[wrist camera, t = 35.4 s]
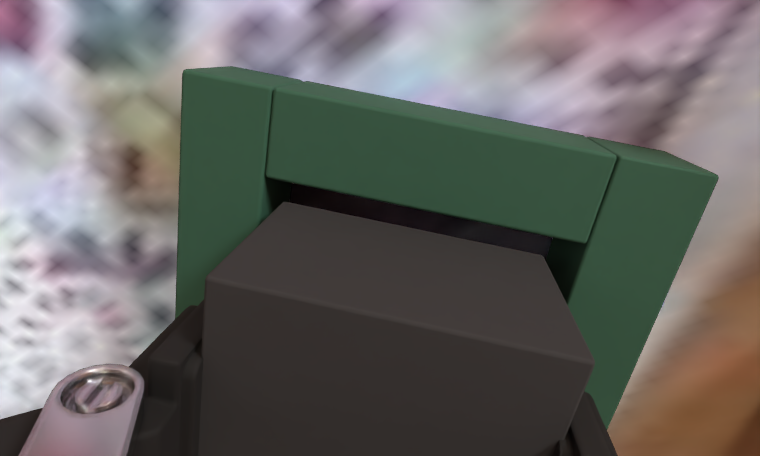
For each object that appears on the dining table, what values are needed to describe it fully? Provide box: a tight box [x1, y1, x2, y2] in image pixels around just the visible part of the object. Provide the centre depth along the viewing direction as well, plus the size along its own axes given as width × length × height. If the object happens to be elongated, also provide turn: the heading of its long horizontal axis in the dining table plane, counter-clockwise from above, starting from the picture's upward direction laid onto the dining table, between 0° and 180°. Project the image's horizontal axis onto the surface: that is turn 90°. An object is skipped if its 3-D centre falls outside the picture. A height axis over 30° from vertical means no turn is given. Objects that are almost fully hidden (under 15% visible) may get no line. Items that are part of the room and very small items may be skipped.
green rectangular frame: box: [175, 66, 718, 430], centre depth 15 cm, size 11×20×2 cm, turn 170°
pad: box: [198, 202, 595, 456], centre depth 10 cm, size 6×6×4 cm
